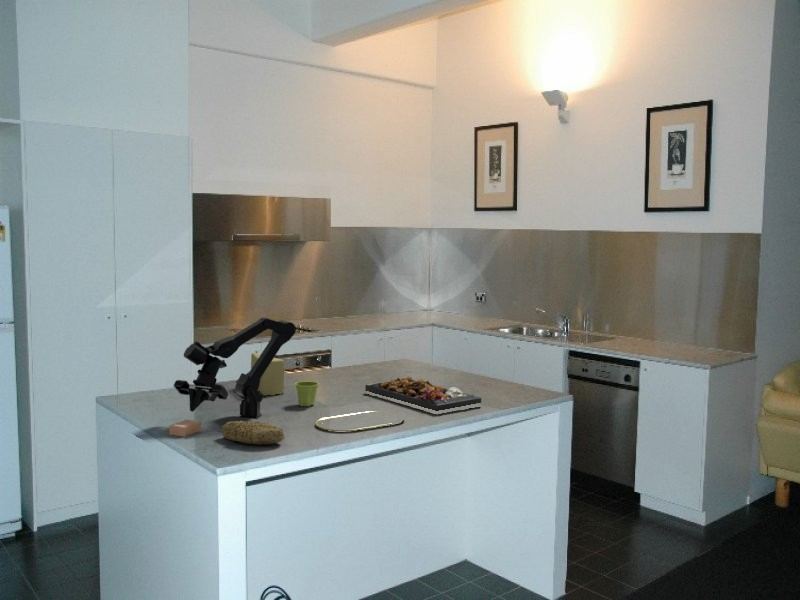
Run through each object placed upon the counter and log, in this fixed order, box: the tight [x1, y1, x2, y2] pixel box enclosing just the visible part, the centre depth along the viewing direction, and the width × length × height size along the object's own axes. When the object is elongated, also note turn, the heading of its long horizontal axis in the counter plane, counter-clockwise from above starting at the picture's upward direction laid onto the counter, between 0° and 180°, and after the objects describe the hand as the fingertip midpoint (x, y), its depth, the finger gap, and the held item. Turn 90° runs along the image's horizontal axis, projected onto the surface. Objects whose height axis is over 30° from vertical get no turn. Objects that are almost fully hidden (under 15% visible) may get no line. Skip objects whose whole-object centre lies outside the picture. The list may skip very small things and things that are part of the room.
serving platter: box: [315, 410, 392, 431], centre depth 268 cm, size 19×35×2 cm, turn 126°
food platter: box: [364, 376, 482, 411], centre depth 308 cm, size 45×25×10 cm, turn 40°
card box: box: [168, 419, 202, 438], centre depth 246 cm, size 3×6×9 cm
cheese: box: [250, 352, 285, 396], centre depth 317 cm, size 22×10×15 cm, turn 35°
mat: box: [165, 424, 220, 440], centre depth 249 cm, size 16×12×1 cm
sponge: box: [220, 420, 286, 445], centre depth 239 cm, size 13×8×20 cm
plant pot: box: [294, 380, 320, 407], centre depth 293 cm, size 9×9×9 cm
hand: (191, 410), depth 251 cm, fingers closed
